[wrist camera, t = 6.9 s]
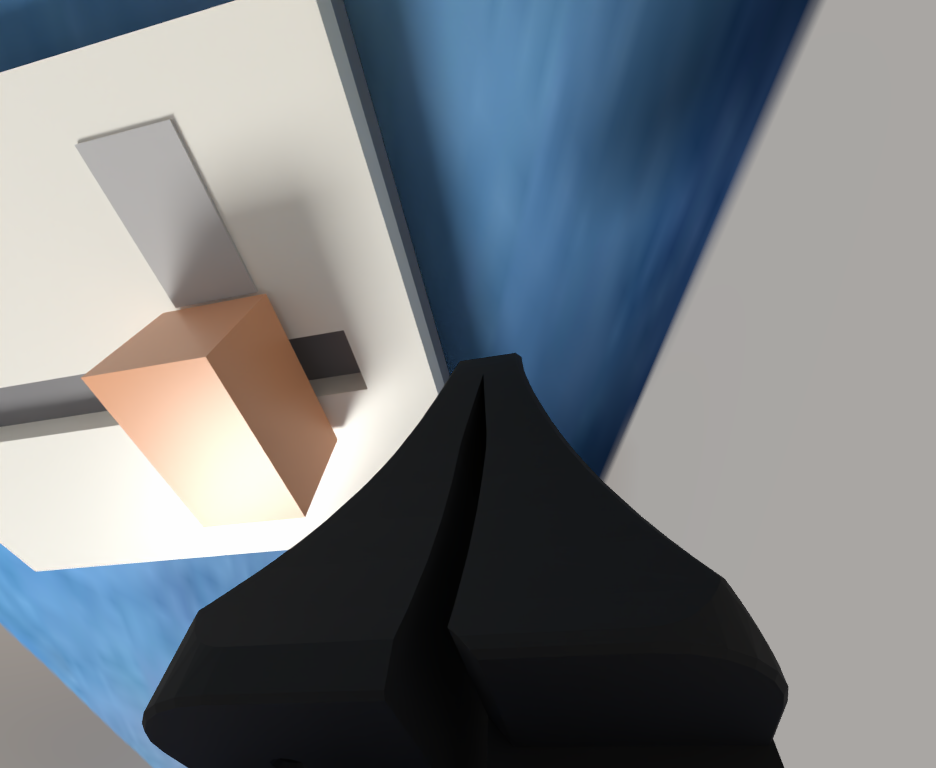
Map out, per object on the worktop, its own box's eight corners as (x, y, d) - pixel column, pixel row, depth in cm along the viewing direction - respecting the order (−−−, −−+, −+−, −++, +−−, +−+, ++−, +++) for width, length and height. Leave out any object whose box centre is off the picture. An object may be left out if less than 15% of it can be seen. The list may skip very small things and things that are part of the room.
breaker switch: (346, 418, 16) (305, 517, 12) (263, 430, 16) (203, 527, 13) (280, 277, 13) (205, 356, 10) (183, 296, 13) (80, 377, 10)
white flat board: (482, 491, 19) (480, 535, 17) (69, 533, 23) (33, 573, 21) (339, -12, 10) (306, -24, 8) (-311, 183, 14) (-427, 202, 12)
